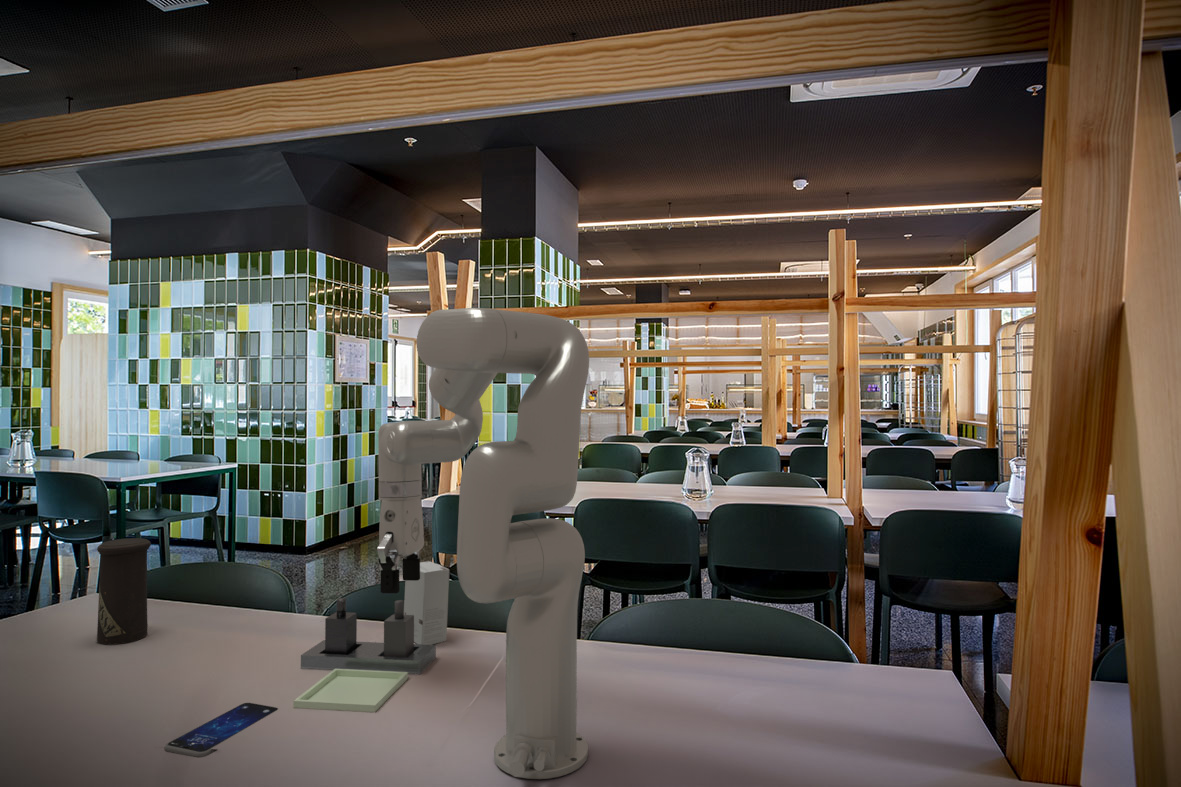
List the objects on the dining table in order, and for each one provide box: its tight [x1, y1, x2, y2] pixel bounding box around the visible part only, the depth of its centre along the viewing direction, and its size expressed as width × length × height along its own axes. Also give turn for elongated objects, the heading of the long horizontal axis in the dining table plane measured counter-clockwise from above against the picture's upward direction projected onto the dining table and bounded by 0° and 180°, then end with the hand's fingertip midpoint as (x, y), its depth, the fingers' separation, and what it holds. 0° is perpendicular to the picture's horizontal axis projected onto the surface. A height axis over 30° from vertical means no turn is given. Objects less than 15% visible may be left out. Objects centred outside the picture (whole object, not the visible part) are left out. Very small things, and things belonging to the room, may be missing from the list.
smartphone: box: [164, 702, 279, 758], centre depth 100 cm, size 7×1×15 cm
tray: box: [292, 669, 409, 713], centre depth 112 cm, size 13×13×2 cm
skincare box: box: [403, 560, 450, 645], centre depth 139 cm, size 8×6×15 cm
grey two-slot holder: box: [300, 597, 437, 675], centre depth 125 cm, size 8×22×12 cm, turn 83°
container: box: [96, 537, 152, 645], centre depth 139 cm, size 9×9×20 cm
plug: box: [383, 599, 415, 658], centre depth 124 cm, size 4×4×11 cm
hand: (401, 586), depth 124 cm, fingers open, 9 cm apart
